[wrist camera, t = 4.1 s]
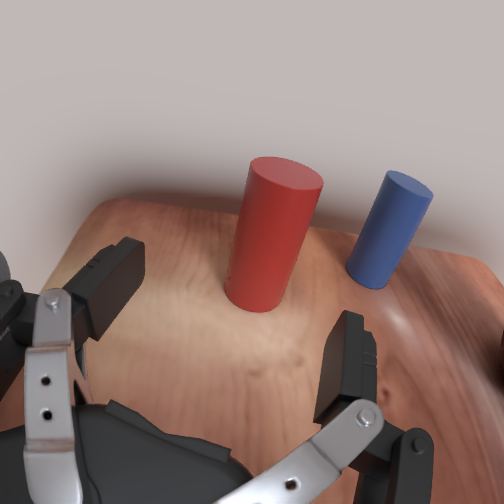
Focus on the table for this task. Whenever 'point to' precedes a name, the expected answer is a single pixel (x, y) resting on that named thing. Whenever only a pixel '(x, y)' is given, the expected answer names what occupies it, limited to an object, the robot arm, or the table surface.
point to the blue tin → (388, 229)
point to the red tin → (270, 231)
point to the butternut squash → (502, 351)
